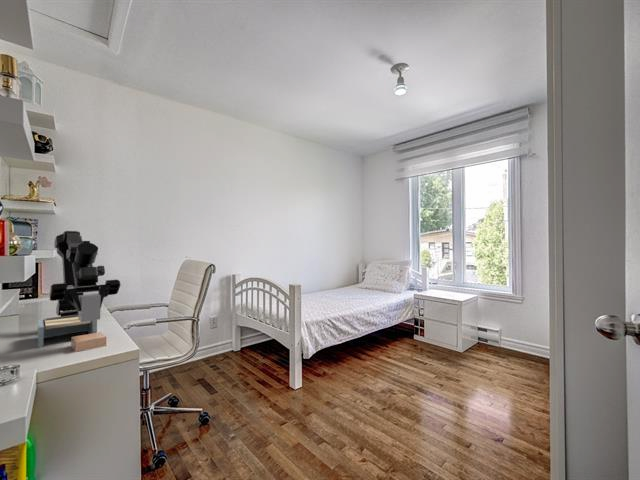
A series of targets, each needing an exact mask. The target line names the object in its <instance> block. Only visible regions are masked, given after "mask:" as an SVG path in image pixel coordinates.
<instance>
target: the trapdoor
mask: <svg viewBox="0 0 640 480" xmlns="http://www.w3.org/2000/svg"><path fill="white" fill-rule="evenodd" d="M46 319H47V321H44V324H45V328H46V329H51V328H58V327H65V326H72V325H79V324H86V323H91V321H85V322H81V321H79V320H78V315H70V316H62V317H61V316H55V317H48V318H46Z"/></svg>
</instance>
